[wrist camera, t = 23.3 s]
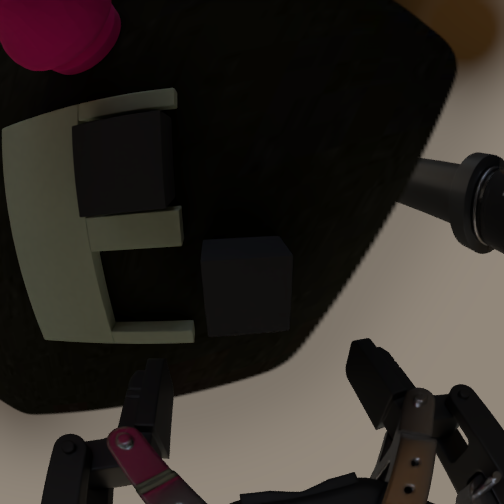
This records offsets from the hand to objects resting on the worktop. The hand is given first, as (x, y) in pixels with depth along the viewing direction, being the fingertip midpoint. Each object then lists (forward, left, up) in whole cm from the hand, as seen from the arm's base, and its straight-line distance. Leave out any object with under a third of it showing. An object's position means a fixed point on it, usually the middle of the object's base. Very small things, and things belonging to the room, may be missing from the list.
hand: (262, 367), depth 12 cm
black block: (0, 0, -10) cm, 10 cm away
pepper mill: (+11, -19, -11) cm, 24 cm away
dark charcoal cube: (+7, -8, -10) cm, 15 cm away
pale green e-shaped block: (+11, -4, -10) cm, 16 cm away
